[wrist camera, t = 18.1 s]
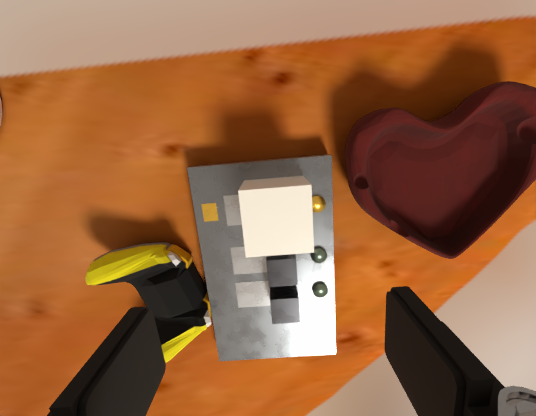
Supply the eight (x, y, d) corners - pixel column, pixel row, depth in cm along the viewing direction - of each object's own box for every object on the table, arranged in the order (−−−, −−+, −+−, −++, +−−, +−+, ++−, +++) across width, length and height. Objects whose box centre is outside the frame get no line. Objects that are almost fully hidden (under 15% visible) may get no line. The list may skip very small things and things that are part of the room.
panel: (192, 165, 29) (174, 171, 23) (327, 153, 28) (340, 157, 23) (222, 349, 35) (213, 386, 30) (332, 342, 35) (343, 378, 29)
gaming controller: (162, 343, 35) (228, 320, 34) (143, 379, 30) (220, 353, 29) (104, 249, 32) (176, 220, 31) (71, 271, 26) (156, 238, 25)
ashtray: (352, 256, 32) (367, 278, 27) (332, 120, 28) (345, 117, 23) (502, 228, 31) (546, 245, 26) (505, 81, 26) (557, 68, 22)
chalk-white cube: (250, 235, 29) (245, 257, 23) (244, 180, 27) (238, 190, 22) (305, 231, 29) (314, 252, 23) (303, 175, 27) (311, 184, 22)
